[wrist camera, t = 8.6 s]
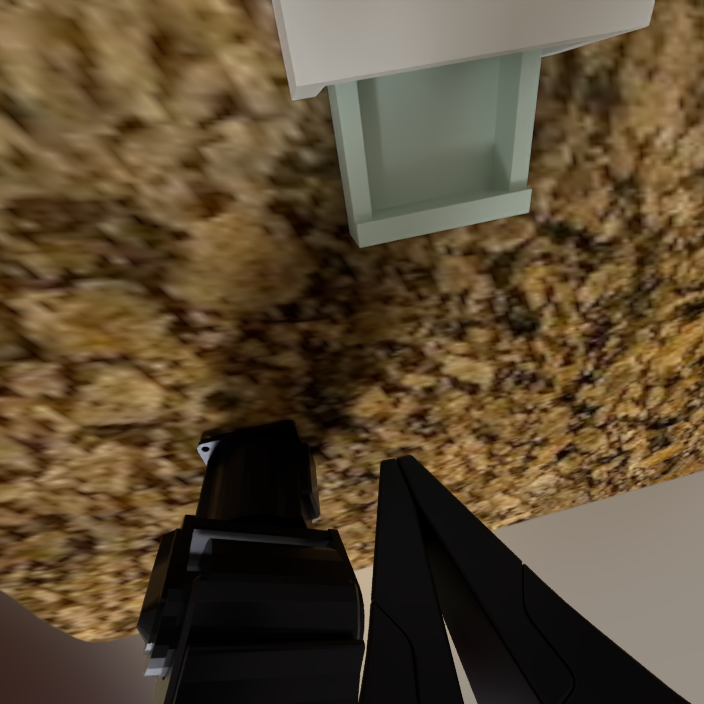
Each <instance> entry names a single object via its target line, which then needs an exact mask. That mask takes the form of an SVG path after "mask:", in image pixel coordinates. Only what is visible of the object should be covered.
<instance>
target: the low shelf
mask: <svg viewBox="0 0 704 704" xmlns="http://www.w3.org/2000/svg"><path fill="white" fill-rule="evenodd" d="M654 3H655V0H272V4H273V9H274V14H275V19H276V24H277V29H278V34H279V39H280V44H281V49H282V54H283V59H284V64H285V69H286V74H287V79H288V84H289V89H290V94H291V99H292V101H294V100H300V99H305V98H311V97H316V96H317V95H318V93H319V92H320V91H321V90H322V89H323V88H324V87H325V86H328V85H334V84H339V83H345V82H351V81H357V80H362V79H368V78H374V77H380V76H386V75H391V74H397V73H403V72H409V71H414V70H420V69H426V68H432V67H438V66H443V65H449V64H455V63H461V62H467V61H472V60H478V59H484V58H490V57H495V56H501V55H507V54H513V53H519V52H524V51H530V50H536V49H542V48H543V49H542V57H546V56H551V55H554V54H557V53H561V52H564V51H567V50H571V49H574V48H577V47H581V46H584V45H587V44H591V43H594V42H597V41H601V40H604V39H607V38H611V37H614V36H617V35H621V34H624V33H627V32H631V31H634V30H637V29H641V28H644V27H647V26H649V24H650V19H651V15H652V11H653V7H654Z"/></svg>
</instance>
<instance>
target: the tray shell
mask: <svg viewBox="0 0 704 704" xmlns="http://www.w3.org/2000/svg"><path fill="white" fill-rule="evenodd" d="M542 49H543V48H542ZM542 49H536V50H530V51H524V52H519V53H513V54H507V55H501V56H495V57H490V58H484V59H478V60H472V61H467V62H461V63H455V64H449V65H443V66H438V67H432V68H426V69H420V70H414V71H409V72H403V73H397V74H391V75H386V76H380V77H374V78H368V79H362V80H357V81H351V82H345V83H339V84H334V85H328V86H327V89H328V95H329V102H330V108H331V115H332V121H333V128H334V134H335V141H336V147H337V154H338V160H339V166H340V173H341V179H342V186H343V192H344V199H345V205H346V212H347V218H348V225H349V231H350V235H351V236H352V238H353V239H354V240H355V242H356V243H357V245H358V246H359V247H360V248H362V247H367V246H372V245H376V244H381V243H386V242H391V241H395V240H400V239H405V238H410V237H415V236H419V235H424V234H429V233H434V232H438V231H443V230H448V229H453V228H457V227H462V226H467V225H472V224H476V223H481V222H486V221H491V220H495V219H500V218H505V217H510V216H514V215H519V214H524V213H529V208H530V200H531V192H532V189H530V188H526V187H527V179H528V170H529V161H530V153H531V144H532V135H533V127H534V118H535V109H536V101H537V92H538V83H539V75H540V66H541V57H542Z"/></svg>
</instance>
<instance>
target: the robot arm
mask: <svg viewBox="0 0 704 704" xmlns="http://www.w3.org/2000/svg"><path fill="white" fill-rule="evenodd" d="M286 427H290V428H286ZM204 446H207V447H204ZM197 450H198V452H199V454H200V455H201V457H202V459H203V461H204V462H205V464H206V471H205V475H204V480H203V484H202V489H201V493H200V498H199V502H198V507H197V511H196V516H195V515H185V516H184V519H183V522H182V525H181V528H180V529H178V528H177V529H176V530H175V531H172V532H169V533H167V534H164V535H163V536H162V539H161V542H160V546H159V549H158V552H157V556H156V559H155V563H154V566H153V569H152V573H151V576H150V580H149V583H148V587H147V590H146V594H145V598H144V601H143V605H142V609H141V612H140V616H139V619H138V623H137V627H136V628H137V629H138V631H139V633H140V635H141V636H142V638H143V640H144V641H145V647H144V653H143V655H146V660H145V666H144V671H143V679H148V678H157V682H156V686H155V690H154V694H153V698H152V702H151V704H464V701H463V697H462V693H461V689H460V685H459V681H458V677H457V673H456V669H455V665H454V661H453V657H452V653H451V649H450V644H449V640H448V636H447V632H446V628H445V624H444V620H445V623H446V625H447V628H448V630H449V633H450V635H451V638H452V640H453V643H454V645H455V648H456V650H457V653H458V656H459V658H460V661H461V663H462V666H463V668H464V671H465V673H466V676H467V678H468V680H469V683H470V685H471V688H472V691H473V693H474V695H475V698H476V701H477V703H478V704H691V703H690V702H688V701H687V700H685V699H684V698H683V697H681V696H680V695H678V694H677V693H676V692H675V691H673V690H672V689H671V688H669V687H668V686H667V685H666V684H664V683H663V682H662V681H661V680H660V679H658V678H657V677H656V676H655V675H654V674H652V673H651V672H650V671H649V670H647V669H646V668H645V667H644V666H642V665H641V664H640V663H639V662H638V661H636V660H635V659H634V658H633V657H632V656H630V655H629V654H628V653H627V652H625V651H624V650H623V649H622V648H621V647H619V646H618V645H617V644H615V643H614V642H613V641H612V640H611V639H609V638H608V637H607V636H606V635H604V634H603V633H602V632H601V631H600V630H598V629H597V628H596V627H595V626H594V625H592V624H591V623H590V622H589V621H588V620H586V619H585V618H584V617H583V616H582V615H581V614H579V613H578V612H577V611H576V610H575V609H573V608H572V607H571V606H570V605H569V604H567V603H566V602H565V601H564V600H563V599H562V598H561V597H559V596H558V595H557V594H556V593H555V592H554V591H553V590H552V589H551V588H550V587H549V586H548V585H546V583H544V582H543V581H542V580H541V579H540V578H539V577H538V576H537V575H536V574H535V573H534V572H533V571H532V570H531V569H530V568H529V567H528V566H527V565H526V564H523V565H522V561H521V560H520V559H519V558H518V557H517V556H516V555H515V554H514V553H513V552H512V551H511V550H510V549H509V548H508V547H507V546H506V545H505V544H504V543H503V542H502V541H501V540H500V539H498V538H497V537H496V536H495V535H494V534H493V533H492V532H491V531H490V530H489V529H488V528H487V527H486V526H485V525H484V524H483V523H482V522H481V521H480V520H479V519H478V518H477V517H476V516H475V515H474V514H473V513H472V512H470V511H469V510H468V509H467V508H466V507H465V506H464V505H463V504H462V503H461V502H460V501H459V500H458V499H457V498H456V497H455V496H454V495H453V494H452V493H451V492H450V491H449V490H448V489H447V488H446V487H445V486H443V485H442V484H441V483H440V482H439V481H438V480H437V479H436V478H435V477H434V476H433V475H432V474H431V473H430V472H429V471H428V470H427V469H426V468H425V467H424V466H423V465H422V464H421V463H420V462H419V461H418V460H416V459H415V458H414V457H413V456H411V455H407V456H402V457H398V458H397V460H396V459H394V458H393V459H388V460H383V461H381V464H380V478H379V492H378V507H377V521H376V535H375V550H374V564H373V578H372V593H371V602H372V603H371V605H370V619H369V630H368V640H367V651H366V659H365V665H364V671H363V678H362V684H361V691H360V696H359V702H358V694H359V682H360V671H361V666H362V661H363V655H364V650H365V643H364V640H363V635H364V604H363V598H362V593H361V590H360V586H359V584H358V581H357V579H356V576H355V574H354V571H353V568H352V566H351V563H350V561H349V558H348V556H347V553H346V550H345V548H344V545H343V543H342V540H341V538H340V535H339V533H338V530H335V529H328V530H319V529H313V527H312V520H313V519H317V518H318V517H319V515H320V506H319V496H318V487H317V477H316V468H315V464H314V461H313V458H312V455H311V452H310V448H309V445H308V444H307V443H302V441H301V438H300V435H299V432H298V429H297V426H296V423H295V422H294V421H293V420H284V421H280V422H275V423H271V424H267V425H263V426H258V427H254V428H250V429H246V430H242V431H237V432H233V433H229V434H225V435H220V436H216V437H212V438H208V439H204V440H201V441H200V442H199V444H198V448H197ZM442 615H443V616H442ZM443 618H444V620H443Z"/></svg>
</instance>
